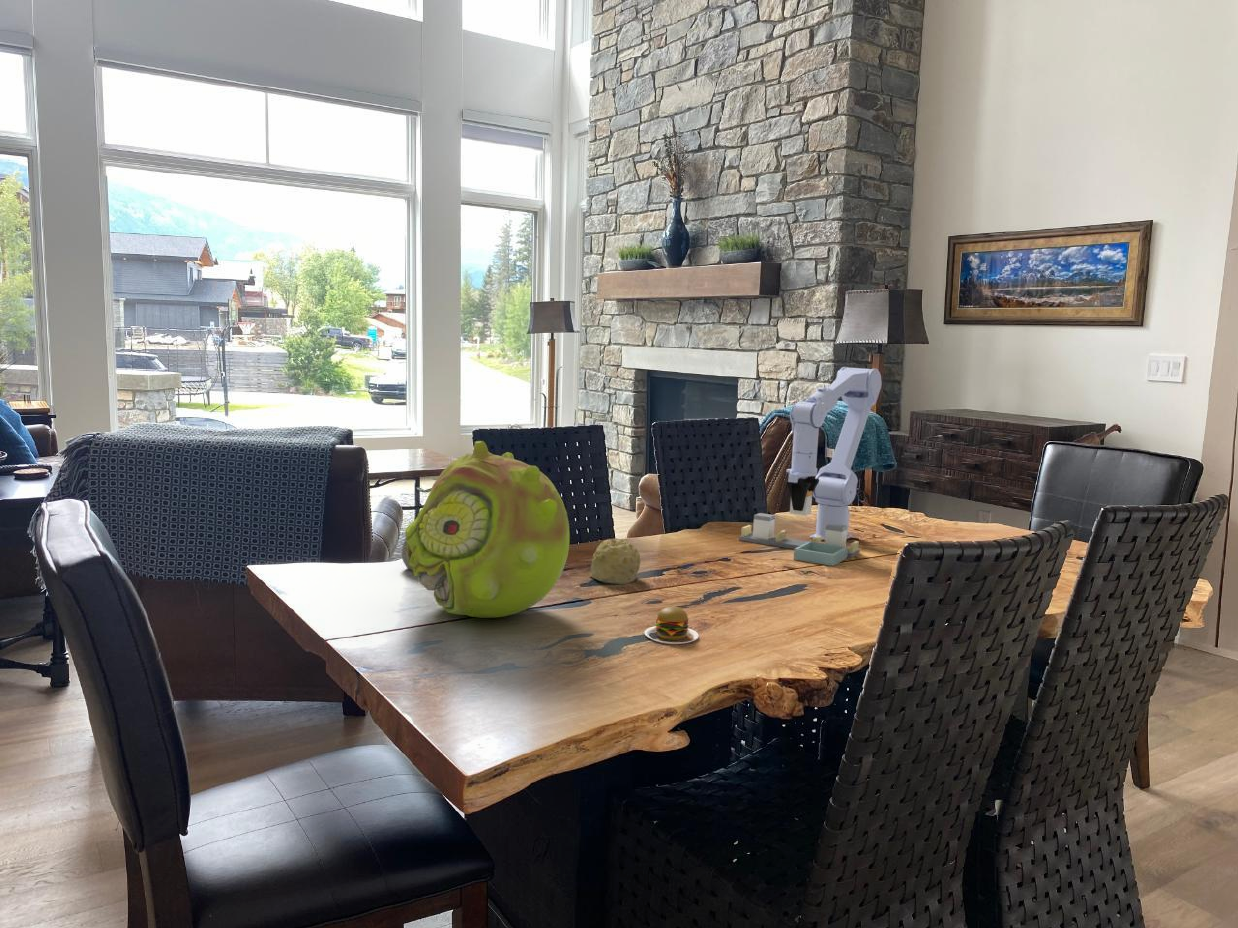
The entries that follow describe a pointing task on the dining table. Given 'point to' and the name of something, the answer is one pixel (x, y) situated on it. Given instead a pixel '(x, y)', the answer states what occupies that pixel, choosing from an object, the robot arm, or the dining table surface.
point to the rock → (615, 562)
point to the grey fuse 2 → (836, 534)
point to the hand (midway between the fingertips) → (800, 509)
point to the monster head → (489, 536)
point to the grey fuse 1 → (763, 526)
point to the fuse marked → (806, 507)
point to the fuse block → (789, 541)
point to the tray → (820, 553)
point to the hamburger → (672, 625)
